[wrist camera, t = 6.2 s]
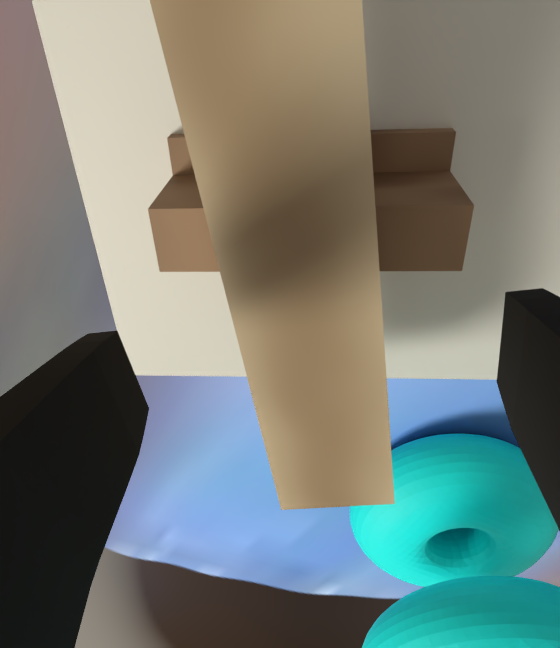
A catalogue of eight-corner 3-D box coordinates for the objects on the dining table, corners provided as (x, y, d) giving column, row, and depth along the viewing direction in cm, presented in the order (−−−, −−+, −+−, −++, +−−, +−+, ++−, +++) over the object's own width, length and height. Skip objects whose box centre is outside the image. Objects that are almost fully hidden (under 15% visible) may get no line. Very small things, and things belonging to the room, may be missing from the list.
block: (452, 128, 16) (482, 160, 13) (434, 254, 18) (455, 305, 16) (170, 134, 17) (139, 166, 14) (188, 255, 19) (165, 305, 16)
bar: (337, -183, 10) (345, -253, 7) (382, 421, 18) (394, 503, 15) (162, -141, 10) (99, -189, 7) (286, 428, 19) (281, 510, 16)
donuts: (730, 707, 17) (520, 786, 22) (592, 465, 25) (464, 564, 30) (477, 623, 15) (314, 732, 20) (419, 390, 23) (315, 510, 28)
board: (673, -26, 14) (686, -27, 13) (544, 371, 22) (549, 379, 21) (41, 0, 15) (31, 0, 15) (132, 366, 23) (128, 375, 23)
